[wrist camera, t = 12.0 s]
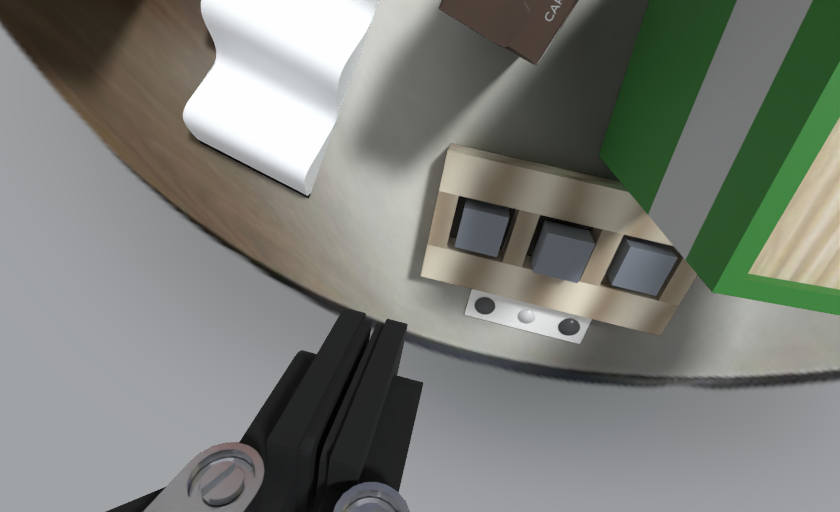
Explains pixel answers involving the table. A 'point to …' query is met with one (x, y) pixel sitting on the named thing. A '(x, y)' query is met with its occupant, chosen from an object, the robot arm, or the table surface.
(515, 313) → the pattern card
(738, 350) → the table surface
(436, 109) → the table surface
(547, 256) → the middle button
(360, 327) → the robot arm
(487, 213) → the button
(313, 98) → the file organizer
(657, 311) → the button board
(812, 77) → the hardback book
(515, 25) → the coffee box
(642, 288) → the button
